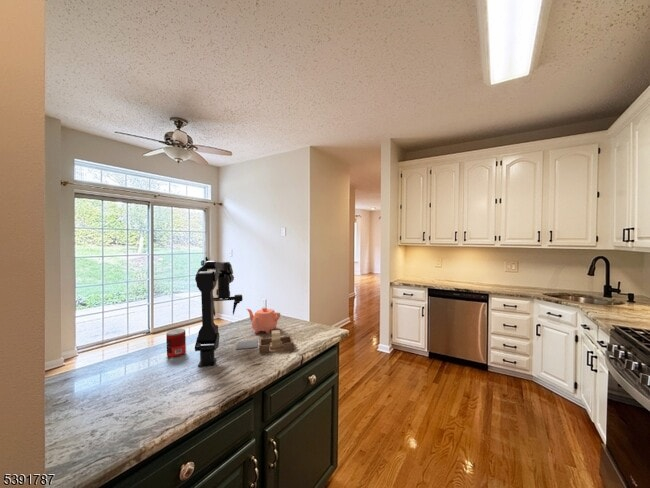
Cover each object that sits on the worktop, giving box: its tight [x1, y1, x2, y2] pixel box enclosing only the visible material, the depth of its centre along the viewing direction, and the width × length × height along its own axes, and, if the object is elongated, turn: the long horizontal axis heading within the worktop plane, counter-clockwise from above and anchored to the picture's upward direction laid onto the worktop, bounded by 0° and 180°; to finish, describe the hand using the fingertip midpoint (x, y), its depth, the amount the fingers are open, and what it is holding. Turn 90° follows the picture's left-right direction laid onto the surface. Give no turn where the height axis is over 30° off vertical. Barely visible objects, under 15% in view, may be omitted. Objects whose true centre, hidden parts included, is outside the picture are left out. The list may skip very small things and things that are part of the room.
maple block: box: [271, 329, 281, 346], centre depth 134 cm, size 4×4×6 cm
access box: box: [258, 335, 295, 355], centre depth 134 cm, size 10×16×4 cm, turn 104°
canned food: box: [165, 328, 187, 359], centre depth 128 cm, size 8×8×11 cm
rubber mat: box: [235, 339, 259, 351], centre depth 138 cm, size 10×10×1 cm
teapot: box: [246, 307, 281, 334], centre depth 161 cm, size 16×17×14 cm
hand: (224, 315), depth 144 cm, fingers open, 9 cm apart
